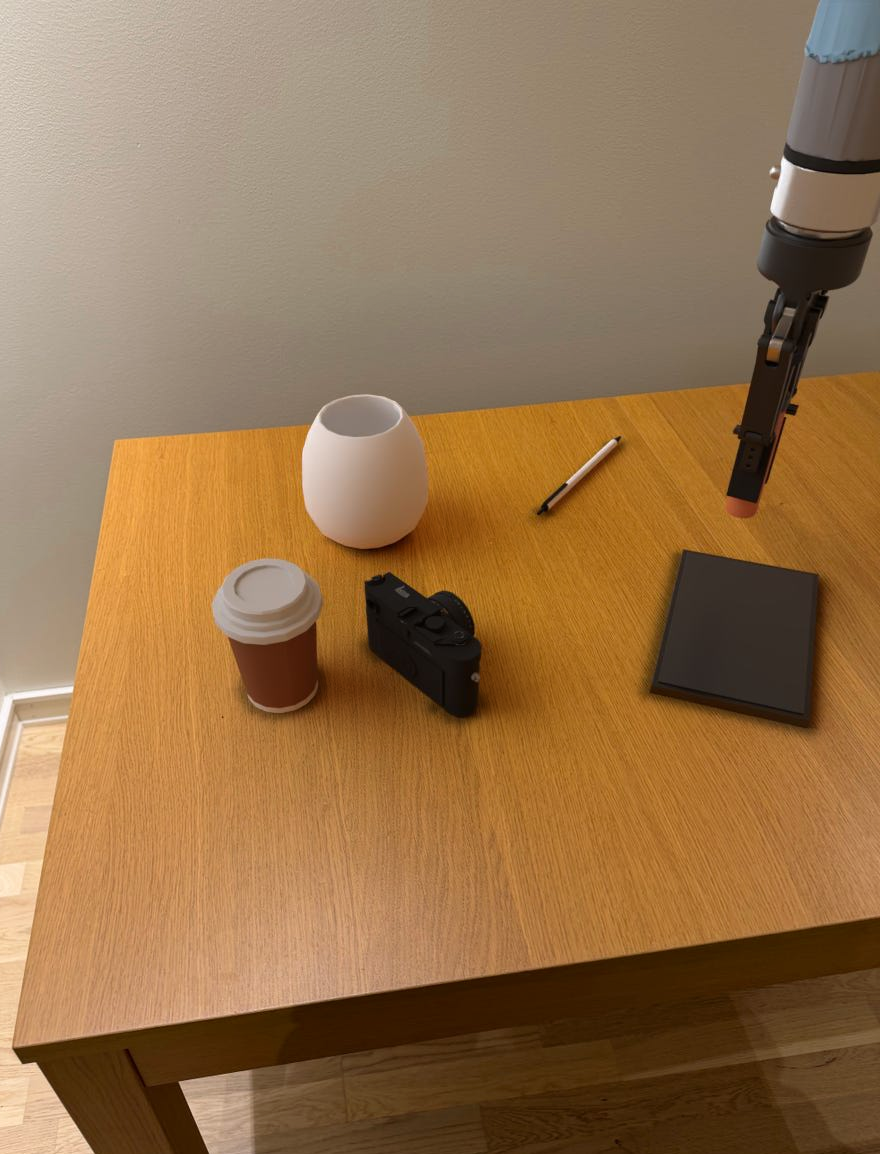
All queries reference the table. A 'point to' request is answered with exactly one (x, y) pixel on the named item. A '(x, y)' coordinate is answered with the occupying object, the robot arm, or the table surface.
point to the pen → (578, 476)
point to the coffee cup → (272, 631)
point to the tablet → (740, 638)
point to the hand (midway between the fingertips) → (747, 487)
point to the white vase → (364, 472)
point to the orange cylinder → (748, 508)
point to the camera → (425, 641)
